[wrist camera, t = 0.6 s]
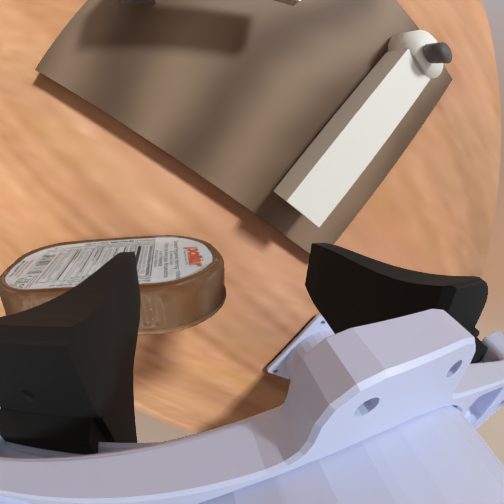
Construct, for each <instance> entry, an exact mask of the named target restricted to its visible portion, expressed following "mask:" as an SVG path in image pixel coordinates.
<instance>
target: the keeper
mask: <svg viewBox="0 0 504 504" xmlns="http://www.w3.org/2000/svg"><path fill="white" fill-rule="evenodd" d="M156 1H157V0H118V2H119V3H156ZM274 1H277V2H281V3H285V4H288V5H292V6H294V5H295V4H297V3H298V2H299V1H300V0H274Z"/></svg>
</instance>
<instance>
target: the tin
mask: <svg viewBox="0 0 504 504" xmlns="http://www.w3.org/2000/svg"><path fill="white" fill-rule="evenodd" d="M120 252H135V257H136V265H137V274H138V281H139V289H140V295H141V307H140V322H139V329H138V335H148V334H162V333H170V332H176V331H179V330H183V329H186V328H190V327H192V326H195V325H197V324H199V323H201V322H203V321H205V320H207V319H208V318H210V317H212V316H213V315H214V314H215V313H216V312H217V311H218V310H219V309H220V308H221V307H222V305H223V303H224V301H225V298H226V288H225V285H224V261H223V258H222V256H221V254H220V253H219V252H218V251H217V250H216V249H215V248H214V247H213V246H212V245H211V244H209V243H208V242H205V241H203V240H199V239H196V238H191V237H184V236H171V235H165V236H144V237H126V238H111V239H97V240H84V241H73V242H64V243H58V244H53V245H49V246H45V247H42V248H38V249H36V250H33V251H31V252H29V253H26V254H24V255H22V256H21V257H20V258H18V259H17V260H16V261H15V262H14V263H13V264H12V265H11V266H10V267H8V268H7V269H6V270H5V271H4V272H3V274H2V275H1V276H0V297H1V300H2V303H3V306H4V309H5V312H6V316H7V315H11V314H15V313H19V312H22V311H25V310H28V309H30V308H33V307H36V306H38V305H41V304H43V303H45V302H47V301H49V300H51V299H53V298H56V297H58V296H60V295H62V294H63V293H65V292H67V291H68V290H70V289H72V288H74V287H75V286H77V285H78V284H80V283H81V282H82V281H84V280H85V279H86V278H88V277H89V276H90V275H92V274H93V273H94V272H96V271H97V270H98V269H99V268H101V267H102V266H103V265H104V264H105V263H107V262H108V261H109V260H110V259H111V258H113V257H114V256H115V255H116V254H118V253H120Z"/></svg>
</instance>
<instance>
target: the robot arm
mask: <svg viewBox="0 0 504 504" xmlns="http://www.w3.org/2000/svg"><path fill="white" fill-rule="evenodd" d="M305 286H306V288H307V291H308V293H309V295H310V297H311V299H312V301H313V303H314V304H315V306H316V307H317V309H318V310H319V312H320V313H321V315H317V316H315V317H314V318H313V320H312V321H311V322H310V323H309V324H308V325H307V326H306V327H305V328H304V329H303V330H302V332H301V333H300V334H299V335H298V336H297V337H296V338H295V339H294V340H293V341H292V342H291V343H290V344H289V345H288V346H287V347H286V348H285V349H284V350H283V351H282V353H281V354H280V355H279V356H278V357H277V358H276V359H275V360H274V361H273V362H272V363H271V364H270V365H269V366H268V367H267V371H268V372H269V373H271V374H274V375H277V376H280V377H283V378H286V379H289V380H291V381H290V385H289V389H288V394H287V397H286V399H285V402H284V403H283V404H282V405H281V406H278V407H276V408H273V409H270V410H268V411H265V412H262V413H260V414H257V415H254V416H251V417H248V418H245V419H243V420H240V421H237V422H234V423H230V424H227V425H224V426H221V427H218V428H214V429H211V430H207V431H204V432H200V433H197V434H193V435H189V436H185V437H181V438H178V439H173V440H169V441H165V442H158V443H137V436H136V426H135V414H134V395H133V365H134V356H135V349H136V342H137V335H138V329H139V322H140V307H141V295H140V289H139V281H138V274H137V265H136V257H135V252H120V253H118V254H116V255H115V256H114V257H113V258H111V259H110V260H109V261H108V262H107V263H105V264H104V265H103V266H102V267H101V268H99V269H98V270H97V271H96V272H94V273H93V274H92V275H90V276H89V277H88V278H86V279H85V280H84V281H82V282H81V283H80V284H78V285H77V286H75V287H74V288H72V289H70V290H68V291H67V292H65V293H63V294H62V295H60V296H58V297H56V298H53V299H51V300H49V301H47V302H45V303H43V304H41V305H38V306H36V307H33V308H30V309H28V310H25V311H22V312H19V313H15V314H11V315H7V316H3V317H0V407H1V409H0V504H504V466H503V465H502V463H501V462H500V461H499V459H498V458H497V457H496V455H495V454H494V453H493V452H492V450H491V449H490V448H489V447H488V445H487V444H486V443H485V441H484V440H483V439H482V438H481V436H480V435H479V434H478V433H477V431H476V429H477V428H478V427H480V426H481V425H482V424H483V423H484V422H485V421H486V420H487V419H489V418H490V417H491V416H492V415H493V414H494V413H495V412H496V411H497V410H498V409H500V408H501V407H502V405H504V335H503V334H501V333H500V332H499V331H498V330H497V331H495V332H493V333H491V334H489V335H488V336H486V337H485V338H484V339H483V340H482V341H480V340H479V339H478V338H477V336H478V335H479V331H478V330H477V329H476V328H475V325H476V323H477V321H478V319H479V317H480V315H481V313H482V310H483V308H484V305H485V303H486V300H487V295H488V286H487V283H486V282H485V281H484V280H482V279H481V278H480V277H474V276H445V275H435V274H428V273H423V272H417V271H412V270H407V269H404V268H400V267H396V266H392V265H389V264H386V263H383V262H380V261H377V260H374V259H371V258H369V257H366V256H363V255H360V254H358V253H355V252H353V251H350V250H347V249H345V248H342V247H339V246H336V245H332V244H328V243H312V245H311V251H310V258H309V264H308V270H307V277H306V283H305ZM322 321H323V322H322Z"/></svg>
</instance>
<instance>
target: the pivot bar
mask: <svg viewBox="0 0 504 504" xmlns="http://www.w3.org/2000/svg"><path fill="white" fill-rule="evenodd" d="M431 43H437V41H436V40H435V38H434V37H433V36H432V35H431V34H429V33H428V32H426V31H424V30H416V31H410V32H405V33H400V34H396V35H394V36H392V37H391V39H390V41H389V43H388V52H386V54H385V55H384V56H383V57H382V58H381V59H380V61H379V62H378V63H377V64H376V65H375V67H374V68H373V69H372V70H371V71H370V73H369V74H368V75H367V76H366V77H365V79H364V80H363V81H362V82H361V83H360V85H359V86H358V87H357V88H356V89H355V91H354V92H353V93H352V94H351V95H350V97H349V98H348V99H347V100H346V101H345V103H344V104H343V105H342V106H341V108H340V109H339V110H338V111H337V112H336V114H335V115H334V116H333V117H332V119H331V120H330V121H329V122H328V123H327V125H326V126H325V127H324V128H323V130H322V131H321V132H320V133H319V135H318V136H317V137H316V138H315V139H314V141H313V142H312V143H311V144H310V146H309V147H308V148H307V149H306V151H305V152H304V153H303V154H302V156H301V157H300V158H299V159H298V161H297V162H296V163H295V164H294V166H293V167H292V168H291V169H290V171H289V172H288V173H287V174H286V176H285V177H284V178H283V180H282V181H281V182H280V183H279V185H278V186H277V187H276V188H275V190H274V192H275V193H276V194H278V195H279V196H280V197H281V198H283V199H284V200H285V201H286V202H288V203H289V204H290V205H291V206H293V207H294V208H295V209H296V210H298V211H299V212H300V213H301V214H303V215H304V216H305V217H306V218H308V219H309V220H310V221H312V222H313V223H314V224H315V225H317V226H318V227H320V226H321V225H322V223H323V222H324V221H325V220H326V218H327V217H328V216H329V215H330V213H331V212H332V211H333V210H334V208H335V207H336V206H337V204H338V203H339V202H340V201H341V199H342V198H343V197H344V196H345V194H346V193H347V192H348V190H349V189H350V188H351V187H352V185H353V184H354V183H355V181H356V180H357V179H358V177H359V176H360V175H361V174H362V172H363V171H364V170H365V168H366V167H367V166H368V164H369V163H370V162H371V160H372V159H373V158H374V156H375V155H376V154H377V152H378V151H379V150H380V148H381V147H382V146H383V144H384V143H385V142H386V140H387V139H388V138H389V136H390V135H391V134H392V132H393V131H394V129H395V128H396V127H397V125H398V124H399V123H400V121H401V120H402V118H403V117H404V116H405V114H406V113H407V112H408V110H409V109H410V107H411V106H412V105H413V103H414V102H415V100H416V99H417V98H418V96H419V95H420V93H421V92H422V90H423V89H424V88H425V86H426V85H427V83H428V82H429V80H430V79H429V78H436V77H438V76H439V75H440V74H441V72H442V70H443V63H433V64H432V63H430V62H428V61H427V60H426V58H425V56H424V53H423V47H424V45H425V44H431Z"/></svg>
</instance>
